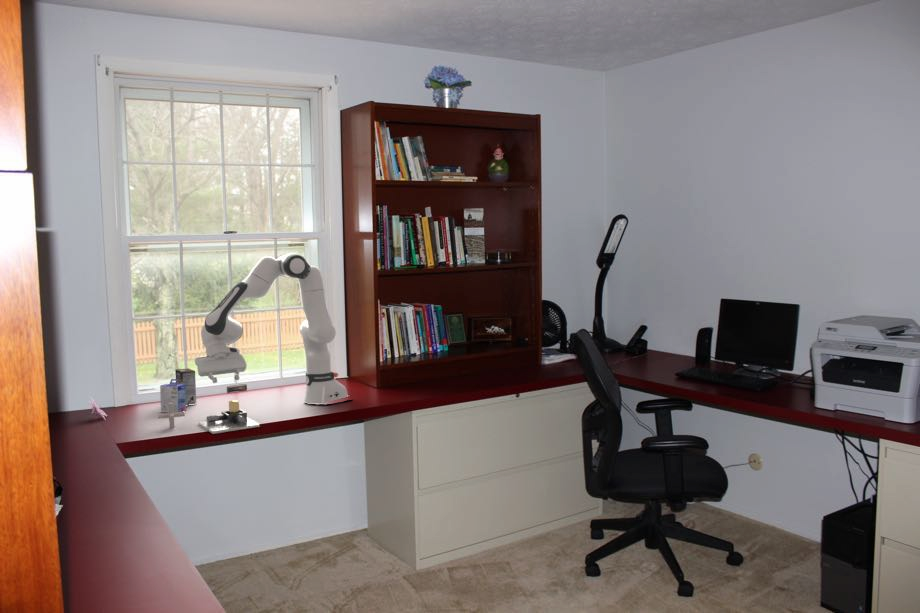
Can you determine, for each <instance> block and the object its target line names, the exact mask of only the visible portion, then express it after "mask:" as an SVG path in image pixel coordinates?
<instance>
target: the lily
mask: <svg viewBox="0 0 920 613" xmlns="http://www.w3.org/2000/svg"><path fill="white" fill-rule="evenodd" d="M89 398H90V399H91V401H90V400H88V402H89V404H91V406H92V410H91V413H90V414H89V416H87V418H86V420H87V421H88V420H89V418H90V416H91V415H92V414H98V415H100V416H101V417H102V418H103V419H104V420H106V418H105V416H106V417H107V416H108V415H107V414H106V412H105V411H104V410H102V409H101V408H103V407H102V406H99V405H97V404H96V402H95V400H94V399H93V398H92V397H91V396H89Z"/></svg>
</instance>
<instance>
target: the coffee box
mask: <svg viewBox="0 0 920 613" xmlns="http://www.w3.org/2000/svg"><path fill="white" fill-rule="evenodd" d="M174 371H175V379H178V382H177V384H184V385H185V394H186V405H189V404H195V403H196V404H197V389H196V388H197V387H196V385H197V384H196V383H197V382H196V371H195V370H194V369H191V368H178V369H175V370H174Z"/></svg>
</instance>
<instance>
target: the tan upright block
mask: <svg viewBox="0 0 920 613" xmlns="http://www.w3.org/2000/svg"><path fill="white" fill-rule="evenodd" d="M239 409H240V400H236V399H233V400H229V401H228V411H229V414H236V413H239Z"/></svg>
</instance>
